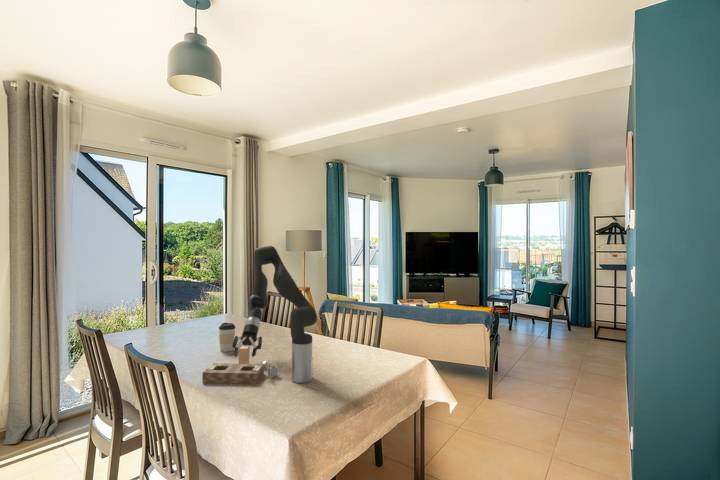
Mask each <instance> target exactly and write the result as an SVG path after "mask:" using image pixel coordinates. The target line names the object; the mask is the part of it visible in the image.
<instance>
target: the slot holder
mask: <svg viewBox="0 0 720 480" xmlns="http://www.w3.org/2000/svg"><path fill="white" fill-rule="evenodd" d="M264 372H265V367H264V365H263V363H262V364H261V363H260V364H259V363H256V364H255V363H249V364H239V363H221V362H220V363H218V362H213V363H212V364H211V365H209V366H208V367H207V368H206V369H205V370H203V371H202V381H201V382H205V383H206V382H207V383H209V384H212V383H213V384H254V385H257V384H258V383H259V381H260V380H261V378H262V377H263V376H264V374H265V373H264Z"/></svg>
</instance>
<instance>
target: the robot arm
mask: <svg viewBox="0 0 720 480" xmlns="http://www.w3.org/2000/svg"><path fill="white" fill-rule="evenodd" d="M278 252H279V251H277V249H276V247H275V246H273V245H265V246H259V247H257V248H256V249H254V253H253V271H254V281H253V290H252V291H253V294H251V296H249V298H248V315H247V318H246V319H245V323H244V325H243V326H244V328H243V330H242V334H241V336H238V335H235V338H234V341H233V344H232V347H233V355H234V357H238V356H239V348H240V347H241V346H250V347H251V346H252V347H253V349H252V352H251V357H252V358H254V357H255V356H256V354H257V350H261V349H262V346H263V337H262V336H258V334H259V330H260V325H261V319H262V317H263V316H262V315H263V312H262V310H264V309H266V308H268V304H269V298H268V294H267V291H268V282H269V281H268V278H267V276H266V275H265V273H264V272H263V270H262V268H263V265H268V264H272V265H273V267H274V272H273V281H272V282H273V286H274V287H275V289H276V290H277V292H278V294H279V295H280V296H281V297H283V298H284V299H285V300H287V301H289V302H290V303H292V304H293V305H294V306H295V308H292V310H291V312H290V316H289V318H290V319H289V320H290V337H291V369H290V371H291V373H290V374H291V375H290V377H291V378H290V379H291V381H292V382H293V383H296V384H297V383H298V384H305V383H310V382H312V379H313V369H314V368H313V366H314V365H313V364H314V361H313V360H314V359H313V336H312V335H311V334H310V333H308V332H307V333H306V332H305V328H307V327H311V326H313V325H315V324H316V323H317V321H318V316H317V312H316V310H315V308H314V307H313V306H312V304H311V303H310V302H309V301H308V299H307V298H306V297H305V296H304V294H303V293H302V291H301V290H300V288H299V287H298V285H297V283H296V281H295V280H294V279H293V276H291V273H290V272H289V271H288V269H287V268H286V266H285V265H284V263H283V261H282V259H281V256H280V254H279V253H278ZM256 342H257V345H256Z"/></svg>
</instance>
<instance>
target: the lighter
mask: <svg viewBox="0 0 720 480" xmlns="http://www.w3.org/2000/svg"><path fill="white" fill-rule="evenodd" d="M262 364H263V365H264V370H266V371H267V377H268V378H269V379H272V378H275V377H278V376H279V375H278V372H279V371H278V370H279V369H278V368H279V366H277V365H276V364H271V365H269V363H268V362H267V361H266V360H264V361H263V362H262Z"/></svg>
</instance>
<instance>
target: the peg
mask: <svg viewBox="0 0 720 480" xmlns="http://www.w3.org/2000/svg"><path fill="white" fill-rule="evenodd" d="M250 347H251V346H241V347H240V348H239V349H238V350H239V351H238V364H250V350H251V349H250Z"/></svg>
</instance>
